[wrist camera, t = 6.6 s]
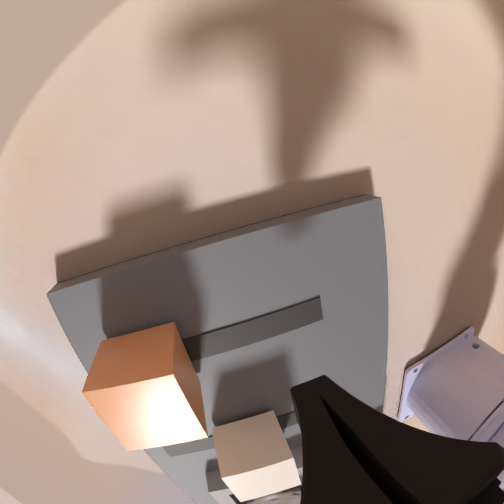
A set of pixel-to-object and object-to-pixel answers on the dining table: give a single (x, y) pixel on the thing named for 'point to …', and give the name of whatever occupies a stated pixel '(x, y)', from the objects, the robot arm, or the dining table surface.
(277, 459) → the lever middle
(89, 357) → the panel
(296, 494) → the button silver
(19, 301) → the dining table surface
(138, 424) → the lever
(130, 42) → the dining table surface
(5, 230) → the dining table surface
